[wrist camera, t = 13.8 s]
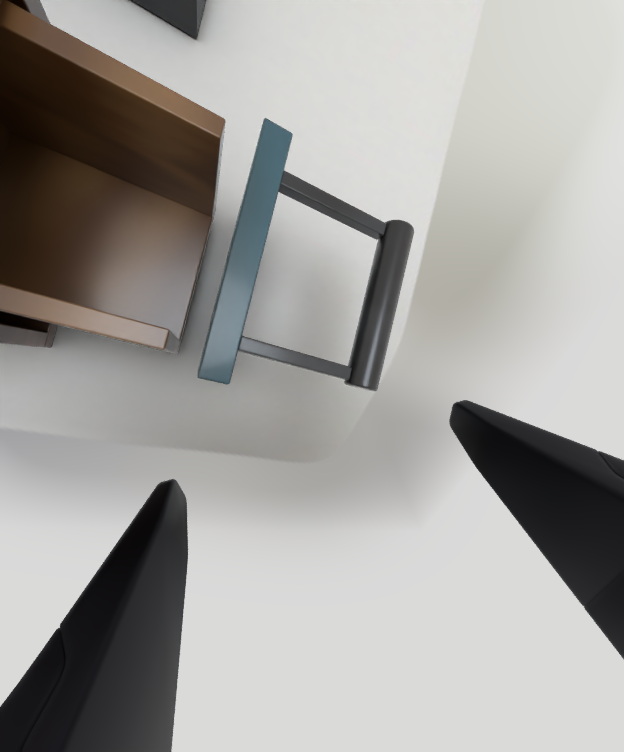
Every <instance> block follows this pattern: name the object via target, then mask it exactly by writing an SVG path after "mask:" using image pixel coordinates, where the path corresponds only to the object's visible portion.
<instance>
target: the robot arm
mask: <svg viewBox="0 0 624 752" xmlns="http://www.w3.org/2000/svg"><path fill="white" fill-rule="evenodd" d="M450 426H451V428H452V430H453V432H454V433H455V435H456V436H457V438H458V440H459V441H460V443H461V444H462V446H463V447H464V449H465V451H466V452H467V454H468V456H469V457H470V459H471V460H472V461H473V463H474V465H475V466H476V468H477V469H478V470H479V472H480V473H481V474H482V476H483V477H484V478H485V479H486V481H487V482H488V483H489V485H490V486H491V487H492V489H493V490H494V491H495V493H496V494H497V495H498V496H499V498H500V499H501V500H502V502H503V503H504V504H505V505H506V506H507V508H508V509H509V510H510V512H511V513H512V515H513V516H514V517H515V518H516V520H517V521H518V522H519V524H520V525H521V526H522V528H523V529H524V530H525V531H526V533H527V534H528V535H529V537H530V538H531V539H532V540H533V542H534V543H535V544H536V546H537V547H538V548H539V550H540V551H541V552H542V554H543V555H544V556H545V557H546V559H547V560H548V561H549V563H550V564H551V565H552V566H553V568H554V569H555V570H556V572H557V573H558V574H559V576H560V577H561V578H562V579H563V581H564V582H565V583H566V585H567V586H568V587H569V589H570V590H571V591H572V592H573V594H574V595H575V596H576V598H577V599H578V600H579V602H580V603H581V604H582V605H583V606H584V608H585V610H586V611H587V612H588V613H589V615H590V616H591V617H592V619H593V620H594V621H595V622H596V624H597V625H598V626H599V628H600V629H601V630H602V632H603V633H604V634H605V636H606V637H607V638H608V639H609V641H610V642H611V643H612V645H613V646H614V647H615V648H616V650H617V651H618V652H619V654H620V655H621V656H622V658H623V659H624V460H621V459H619V458H616V457H613V456H611V455H608V454H606V453H603V452H600V451H597V450H595V449H593V448H590V447H587V446H585V445H582V444H580V443H577V442H574V441H572V440H569V439H567V438H564V437H561V436H559V435H556V434H553V433H551V432H548V431H546V430H543V429H540V428H538V427H535V426H533V425H530V424H527V423H525V422H522V421H520V420H517V419H515V418H512V417H509V416H506V415H504V414H501V413H499V412H496V411H494V410H491V409H488V408H486V407H483V406H480V405H478V404H476V403H473V402H470V401H467V400H463V401H460V402H456V403H454V404H453V407H452V411H451V416H450ZM187 561H188V537H187V503H186V497H185V495H184V493H183V491H182V490H181V488H180V486H179V484H178V483H177V481H176V480H174V479H171V480H168V481H164V482H161V483H159V484H158V485H157V487H156V488H155V489H154V491H153V492H152V494H151V495H150V497H149V498H148V499H147V501H146V502H145V504H144V505H143V507H142V508H141V509H140V511H139V512H138V514H137V515H136V517H135V518H134V519H133V521H132V523H131V524H130V526H129V527H128V528H127V529H126V531H125V532H124V534H123V535H122V537H121V538H120V540H119V541H118V542H117V544H116V545H115V547H114V548H113V550H112V551H111V552H110V554H109V555H108V557H107V558H106V560H105V561H104V562H103V564H102V565H101V567H100V568H99V570H98V571H97V572H96V574H95V575H94V577H93V578H92V580H91V581H90V583H89V584H88V585H87V587H86V588H85V590H84V591H83V593H82V594H81V595H80V597H79V598H78V600H77V601H76V603H75V604H74V606H73V607H72V608H71V610H70V611H69V613H68V614H67V615H66V617H65V618H64V620H63V621H62V623H61V624H60V628H58V629H57V630H56V631H55V632H54V634H53V635H52V637H51V638H50V640H49V641H48V643H47V644H46V645H45V647H44V648H43V650H42V651H41V652H40V654H39V655H38V657H37V658H36V659H35V661H34V662H33V664H32V665H31V666H30V668H29V669H28V670H27V672H26V673H25V675H24V676H23V677H22V679H21V680H20V682H19V683H18V684H17V686H16V687H15V688H14V689H13V691H12V692H11V694H10V695H9V696H8V697H7V699H6V700H5V701H4V703H3V704H2V705H1V707H0V752H171V748H172V736H173V725H174V713H175V701H176V690H177V679H178V667H179V655H180V644H181V632H182V621H183V609H184V597H185V586H186V574H187Z"/></svg>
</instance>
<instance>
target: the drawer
mask: <svg viewBox="0 0 624 752" xmlns="http://www.w3.org/2000/svg"><path fill="white" fill-rule="evenodd" d="M224 129H225V119H224V118H222V117H220V116H218V115H216V114H214V113H213V112H211V111H209V110H207V109H205V108H203V107H202V106H200V105H198V104H196V103H194V102H192V101H191V100H189V99H187V98H185V97H183V96H181V95H180V94H178V93H176V92H174V91H172V90H170V89H169V88H167V87H165V86H163V85H161V84H159V83H158V82H156V81H154V80H152V79H150V78H148V77H147V76H145V75H143V74H141V73H139V72H137V71H136V70H134V69H132V68H130V67H128V66H126V65H125V64H123V63H121V62H119V61H117V60H115V59H114V58H112V57H110V56H108V55H106V54H104V53H102V52H101V51H99V50H97V49H95V48H93V47H91V46H90V45H88V44H86V43H84V42H82V41H80V40H79V39H77V38H75V37H73V36H71V35H69V34H68V33H66V32H64V31H62V30H60V29H58V28H57V27H55V26H53V25H51V24H49V23H47V22H46V21H44V20H42V19H40V18H38V17H36V16H35V15H33V14H31V13H29V12H27V11H25V10H24V9H22V8H20V7H18V6H16V5H14V4H13V3H11V2H9V1H7V0H1V4H0V311H1V312H5V313H9V314H14V315H18V316H22V317H26V318H30V319H34V320H38V321H42V322H46V323H50V324H55V325H59V326H63V327H67V328H71V329H75V330H79V331H83V332H87V333H91V334H96V335H100V336H104V337H108V338H112V339H116V340H120V341H124V342H128V343H132V344H136V345H141V346H145V347H149V348H153V349H157V350H161V351H165V352H169V353H173V354H178V351H179V347H180V344H181V340H182V336H183V332H184V328H185V325H186V321H187V317H188V313H189V309H190V306H191V302H192V298H193V294H194V290H195V287H196V283H197V279H198V275H199V271H200V268H201V264H202V260H203V256H204V252H205V249H206V245H207V241H208V237H209V233H210V230H211V226H212V222H213V218H214V214H215V209H216V200H217V191H218V182H219V174H220V165H221V156H222V147H223V138H224ZM291 140H292V133H291V132H289V131H287V130H286V129H284V128H282V127H280V126H279V125H277V124H275V123H273V122H272V121H270V120H268V119H266V118H265V119H264V121H263V125H262V128H261V132H260V136H259V139H258V143H257V147H256V151H255V154H254V158H253V162H252V165H251V169H250V173H249V176H248V180H247V184H246V188H245V191H244V195H243V199H242V202H241V206H240V210H239V213H238V217H237V221H236V225H235V229H234V233H233V237H232V240H231V244H230V248H229V252H228V256H227V260H226V264H225V267H224V271H223V275H222V279H221V283H220V287H219V291H218V294H217V298H216V302H215V306H214V310H213V314H212V318H211V321H210V325H209V329H208V333H207V337H206V341H205V345H204V348H203V352H202V356H201V360H200V364H199V368H198V378H201V379H205V380H210V381H214V382H219V383H223V384H229V383H230V380H231V376H232V372H233V368H234V364H235V360H236V356H237V352H238V351H239V352H243V353H247V354H251V355H254V356H258V357H262V358H266V359H269V360H273V361H277V362H281V363H284V364H288V365H292V366H296V367H299V368H303V369H307V370H311V371H314V372H318V373H322V374H326V375H329V376H333V377H337V378H341V379H345V381H344V383H345V384H346V385H349V386H353V387H357V388H361V389H365V390H370V391H377V389H378V385H379V380H380V376H381V372H382V368H383V363H384V359H385V355H386V350H387V346H388V342H389V337H390V333H391V329H392V325H393V320H394V316H395V312H396V307H397V303H398V299H399V294H400V290H401V286H402V282H403V277H404V273H405V269H406V264H407V260H408V256H409V251H410V247H411V243H412V239H413V234H414V229H413V227H412V225H410V224H409V223H407V222H405V221H401V220H391V221H387V222H385V223H384V222H382V221H380V220H378V219H376V218H375V217H373V216H371V215H369V214H367V213H365V212H363V211H361V210H359V209H357V208H355V207H353V206H351V205H349V204H348V203H346V202H344V201H342V200H340V199H338V198H336V197H334V196H332V195H330V194H328V193H326V192H324V191H323V190H321V189H319V188H317V187H315V186H313V185H311V184H309V183H307V182H305V181H303V180H301V179H299V178H298V177H296V176H294V175H292V174H290V173H288V172H286V171H284V167H285V163H286V160H287V156H288V152H289V148H290V144H291ZM278 192H280V193H282V194H284V195H286V196H288V197H290V198H292V199H294V200H296V201H298V202H301V203H303V204H305V205H307V206H309V207H311V208H313V209H315V210H317V211H319V212H321V213H323V214H325V215H327V216H329V217H331V218H333V219H335V220H337V221H339V222H341V223H344V224H346V225H348V226H350V227H352V228H354V229H356V230H358V231H360V232H362V233H364V234H366V235H368V236H370V237H372V238H374V239H376V240H377V239H378V243H377V247H376V251H375V255H374V259H373V264H372V268H371V272H370V276H369V280H368V285H367V289H366V293H365V297H364V301H363V306H362V310H361V314H360V318H359V322H358V327H357V331H356V335H355V339H354V344H353V348H352V352H351V356H350V360H349V365H348V366H345V365H341V364H338V363H334V362H331V361H327V360H324V359H321V358H317V357H314V356H310V355H307V354H303V353H300V352H296V351H293V350H289V349H286V348H282V347H279V346H275V345H272V344H268V343H265V342H261V341H258V340H254V339H251V338H247V337H244V336H242V333H243V329H244V325H245V321H246V317H247V313H248V309H249V305H250V301H251V297H252V293H253V289H254V285H255V281H256V278H257V274H258V270H259V266H260V262H261V258H262V254H263V250H264V246H265V242H266V238H267V234H268V230H269V226H270V222H271V219H272V215H273V211H274V207H275V203H276V199H277V195H278Z"/></svg>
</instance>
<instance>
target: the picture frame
mask: <svg viewBox="0 0 624 752" xmlns="http://www.w3.org/2000/svg"><path fill="white" fill-rule="evenodd" d="M132 1H134V2H135V3H137V4H139V5H140V6H142V7H144V8H145V9H147V10H149V11H150V12H152V13H154V14H155V15H157V16H159V17H161V18H162V19H164V20H166V21H167V22H169V23H171V24H172V25H174V26H176V27H177V28H179V29H181V30H182V31H184V32H186V33H187V34H189V35H191V36H192V37H194V38H197V35H198V31H199V27H200V23H201V19H202V15H203V10H204V6H205V2H206V0H132Z"/></svg>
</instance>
